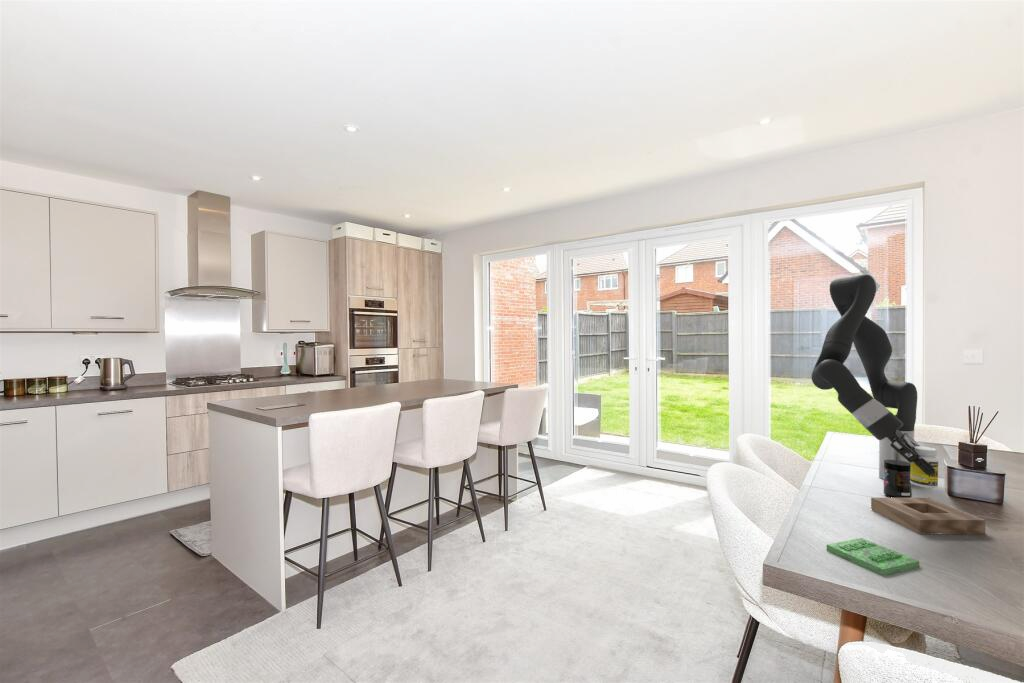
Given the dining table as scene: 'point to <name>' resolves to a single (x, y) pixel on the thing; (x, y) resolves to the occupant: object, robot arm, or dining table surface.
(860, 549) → the green jade tablet
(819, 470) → the dining table surface
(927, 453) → the supplement bottle
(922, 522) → the walnut pocket block
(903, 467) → the supplement container
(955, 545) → the dining table surface
